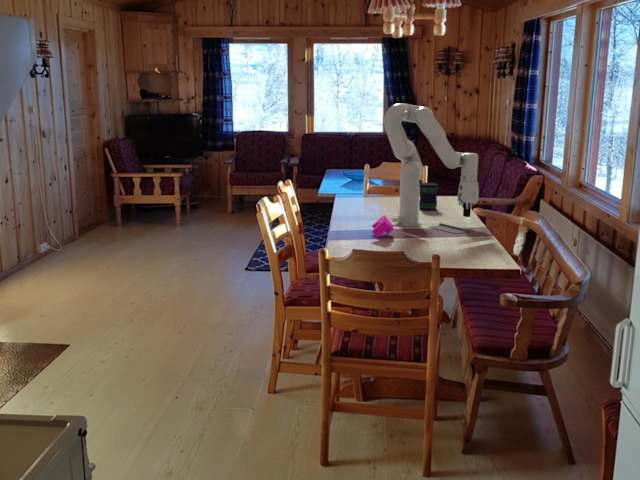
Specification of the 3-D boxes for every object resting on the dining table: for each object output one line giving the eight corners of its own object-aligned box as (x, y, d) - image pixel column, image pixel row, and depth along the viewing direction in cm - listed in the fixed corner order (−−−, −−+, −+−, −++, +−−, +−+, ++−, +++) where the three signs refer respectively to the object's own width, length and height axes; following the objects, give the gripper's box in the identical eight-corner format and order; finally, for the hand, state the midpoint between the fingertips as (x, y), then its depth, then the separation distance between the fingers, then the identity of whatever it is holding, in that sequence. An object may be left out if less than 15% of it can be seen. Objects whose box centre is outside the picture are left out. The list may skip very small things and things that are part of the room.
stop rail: (468, 232, 301) (468, 230, 300) (439, 225, 317) (439, 223, 317) (470, 232, 301) (470, 229, 301) (440, 225, 318) (440, 223, 317)
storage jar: (423, 212, 355) (424, 185, 352) (416, 209, 364) (417, 182, 361) (439, 211, 358) (441, 184, 354) (432, 208, 367) (433, 182, 364)
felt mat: (455, 234, 297) (455, 233, 297) (429, 227, 312) (429, 226, 312) (466, 232, 301) (466, 231, 301) (439, 226, 316) (439, 225, 316)
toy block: (392, 224, 302) (380, 235, 303) (384, 215, 301) (372, 225, 302) (393, 231, 287) (381, 242, 289) (384, 220, 286) (371, 231, 288)
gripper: (463, 180, 301) (461, 219, 305) (485, 178, 309) (483, 216, 313) (452, 178, 307) (449, 216, 311) (474, 177, 315) (471, 214, 319)
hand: (466, 216), depth 312 cm, fingers closed
